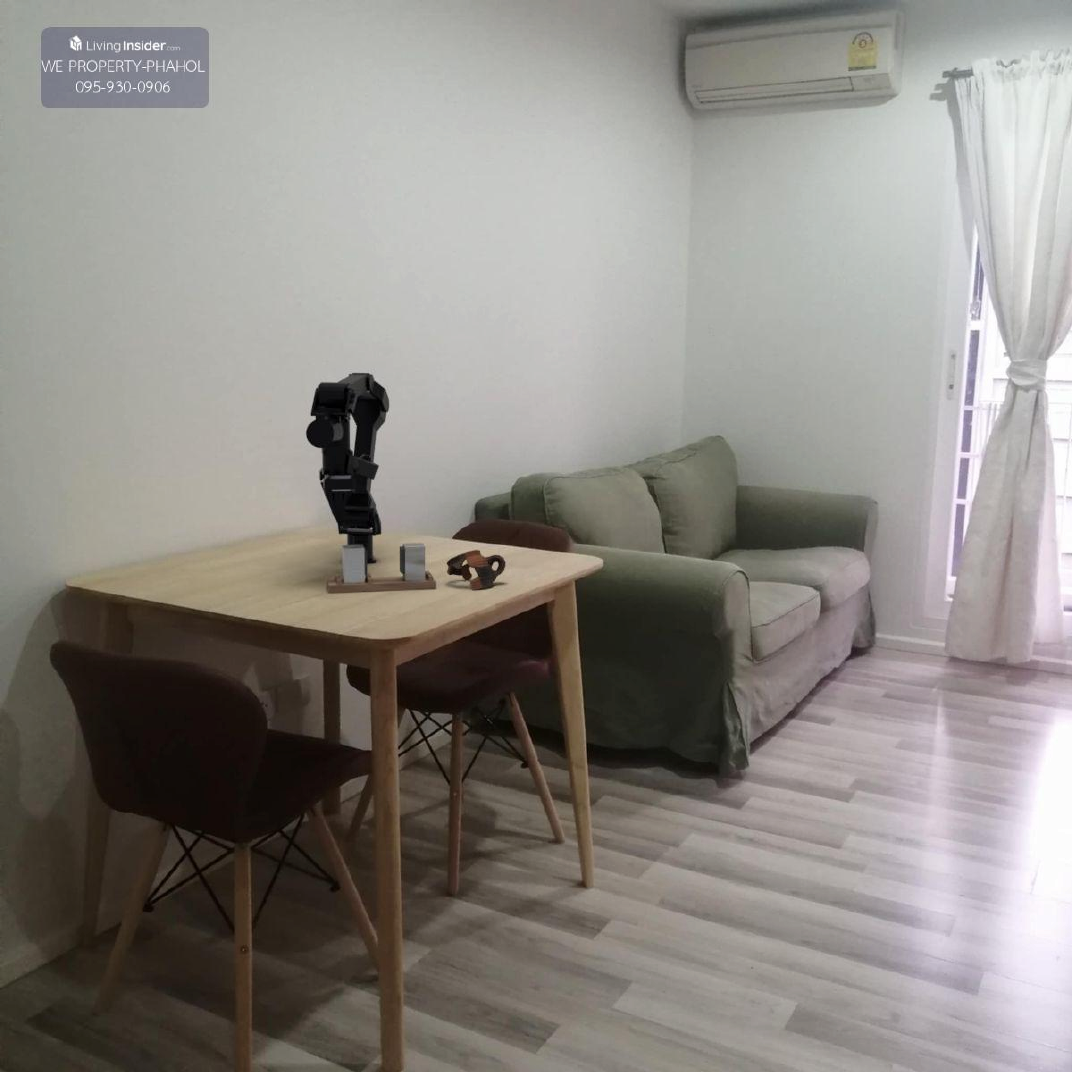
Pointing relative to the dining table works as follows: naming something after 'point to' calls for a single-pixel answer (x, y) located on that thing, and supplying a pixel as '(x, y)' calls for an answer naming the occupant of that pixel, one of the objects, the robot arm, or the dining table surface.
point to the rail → (411, 579)
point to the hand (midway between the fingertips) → (337, 519)
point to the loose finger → (354, 563)
